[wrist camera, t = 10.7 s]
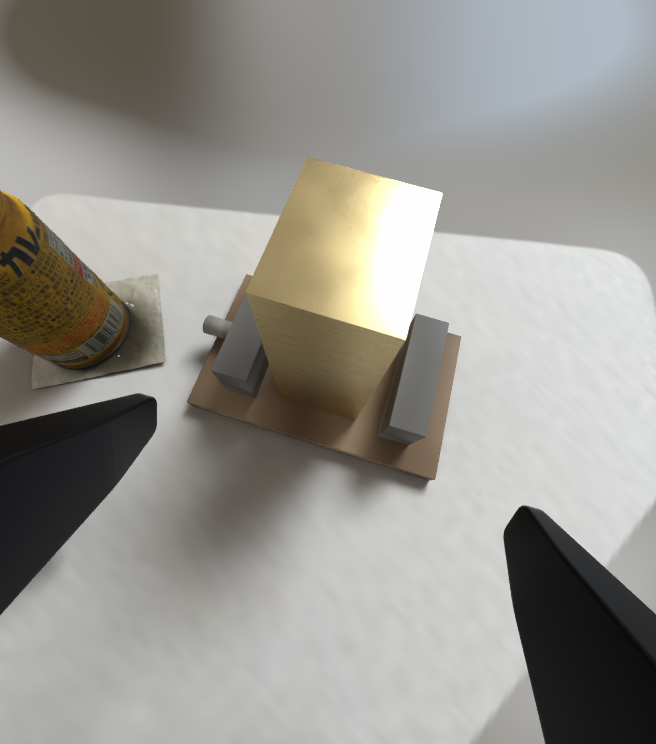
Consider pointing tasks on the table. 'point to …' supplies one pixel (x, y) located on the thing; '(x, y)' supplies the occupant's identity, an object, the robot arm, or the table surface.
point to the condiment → (70, 306)
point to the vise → (356, 438)
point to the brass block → (340, 283)
